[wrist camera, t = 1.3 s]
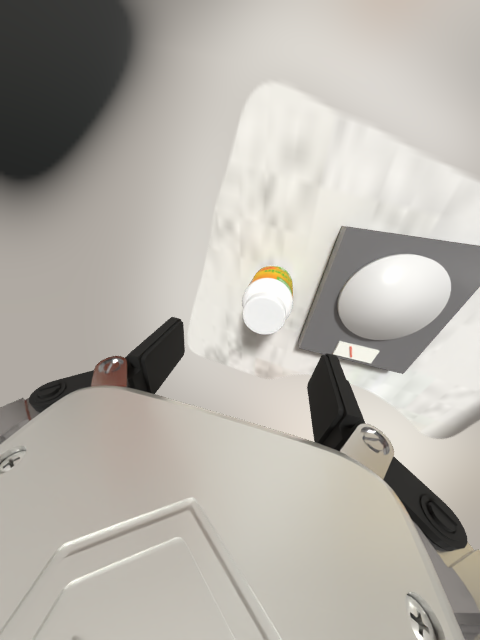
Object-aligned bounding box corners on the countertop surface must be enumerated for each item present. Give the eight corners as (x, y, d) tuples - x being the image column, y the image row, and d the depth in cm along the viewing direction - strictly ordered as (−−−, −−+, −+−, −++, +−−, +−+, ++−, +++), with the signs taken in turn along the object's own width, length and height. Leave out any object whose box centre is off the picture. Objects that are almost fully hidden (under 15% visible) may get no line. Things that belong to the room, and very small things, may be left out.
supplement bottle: (299, 273, 23) (305, 303, 15) (281, 307, 26) (278, 348, 18) (261, 258, 23) (246, 279, 15) (247, 293, 26) (228, 327, 18)
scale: (489, 247, 17) (521, 251, 15) (395, 363, 26) (406, 378, 23) (341, 226, 19) (349, 226, 17) (298, 340, 28) (299, 351, 25)
